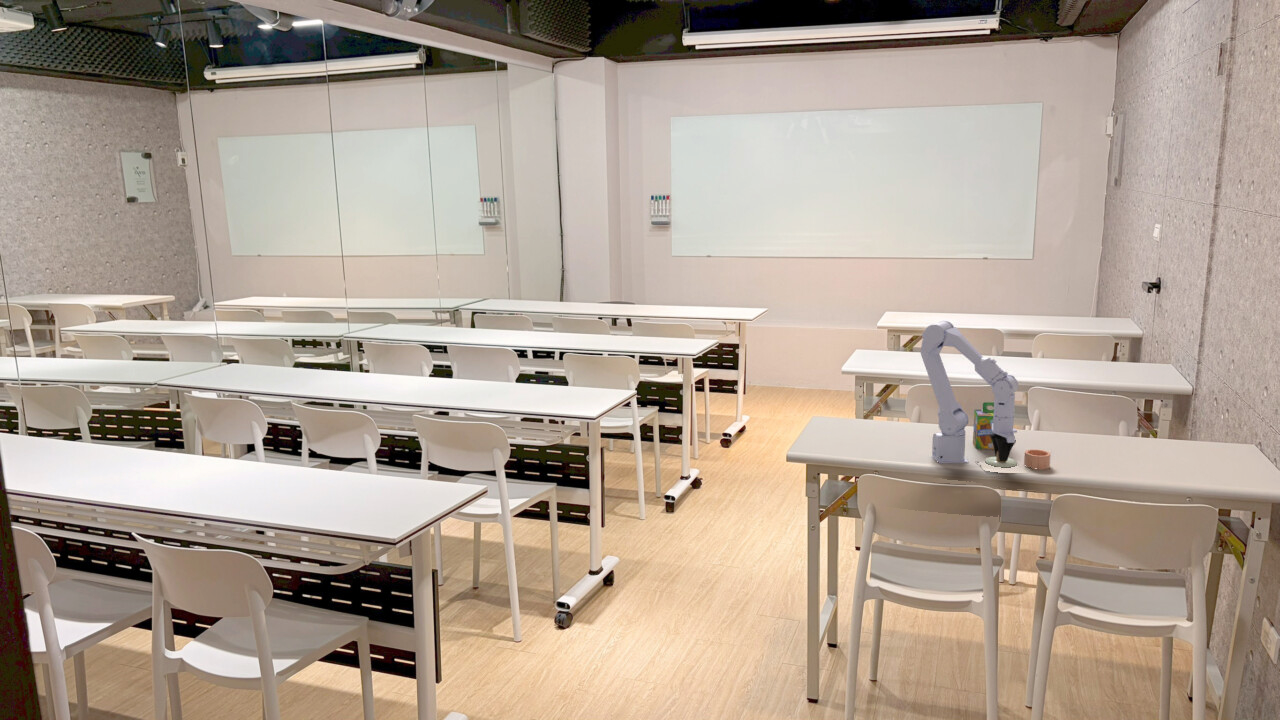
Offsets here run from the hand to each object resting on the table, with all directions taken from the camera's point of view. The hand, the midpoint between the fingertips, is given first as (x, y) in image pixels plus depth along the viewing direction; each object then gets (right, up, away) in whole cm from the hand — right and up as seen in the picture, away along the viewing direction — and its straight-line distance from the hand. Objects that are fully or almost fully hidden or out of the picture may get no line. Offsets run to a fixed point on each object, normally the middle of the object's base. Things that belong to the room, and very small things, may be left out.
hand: (1001, 458), depth 261 cm
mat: (0, -3, +1) cm, 3 cm away
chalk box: (+5, +1, +23) cm, 24 cm away
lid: (0, -1, 0) cm, 1 cm away
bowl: (+11, -3, +1) cm, 12 cm away
